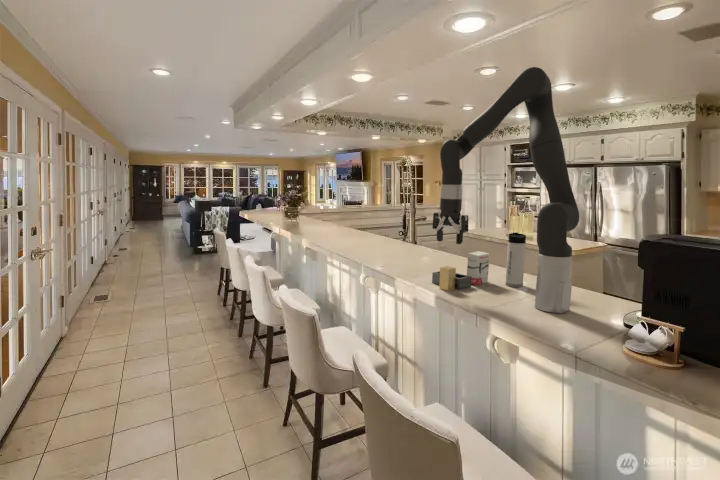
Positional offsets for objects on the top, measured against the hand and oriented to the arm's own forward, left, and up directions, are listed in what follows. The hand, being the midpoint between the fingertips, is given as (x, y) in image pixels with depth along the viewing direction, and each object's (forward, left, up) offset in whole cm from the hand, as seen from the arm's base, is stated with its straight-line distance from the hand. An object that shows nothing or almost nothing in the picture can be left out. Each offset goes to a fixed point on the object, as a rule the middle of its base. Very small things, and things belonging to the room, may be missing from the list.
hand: (449, 242), depth 149 cm
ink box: (-1, -17, -18) cm, 25 cm away
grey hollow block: (+3, -6, -17) cm, 19 cm away
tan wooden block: (0, 0, -17) cm, 17 cm away
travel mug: (-12, -25, -18) cm, 33 cm away
